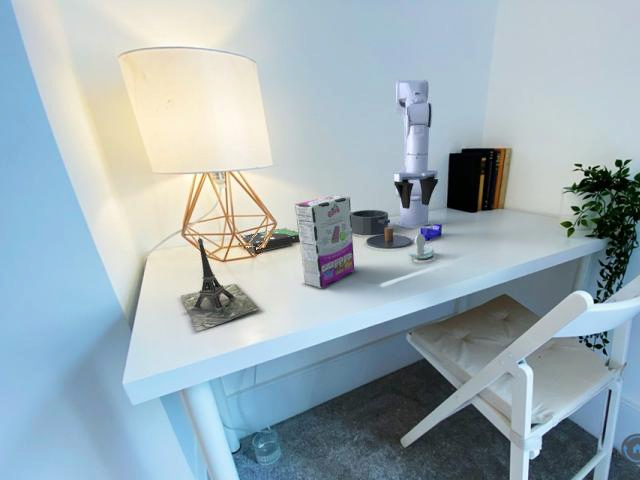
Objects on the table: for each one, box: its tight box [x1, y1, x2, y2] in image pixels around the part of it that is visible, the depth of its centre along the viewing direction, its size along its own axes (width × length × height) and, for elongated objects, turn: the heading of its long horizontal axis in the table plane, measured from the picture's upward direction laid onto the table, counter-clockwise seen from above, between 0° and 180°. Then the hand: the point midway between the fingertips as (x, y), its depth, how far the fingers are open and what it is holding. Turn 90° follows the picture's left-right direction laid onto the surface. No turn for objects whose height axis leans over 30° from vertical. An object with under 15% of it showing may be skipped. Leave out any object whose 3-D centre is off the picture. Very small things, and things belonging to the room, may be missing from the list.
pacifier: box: [406, 233, 438, 264], centre depth 81 cm, size 7×6×6 cm
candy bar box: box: [294, 195, 355, 289], centre depth 69 cm, size 11×5×16 cm, turn 148°
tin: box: [351, 209, 391, 236], centre depth 106 cm, size 12×17×6 cm
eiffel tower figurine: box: [180, 232, 260, 332], centre depth 58 cm, size 15×10×13 cm
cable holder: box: [420, 222, 443, 242], centre depth 99 cm, size 8×4×4 cm, turn 139°
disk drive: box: [237, 227, 300, 253], centre depth 95 cm, size 10×3×15 cm
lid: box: [365, 226, 413, 250], centre depth 94 cm, size 13×13×5 cm
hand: (415, 206), depth 95 cm, fingers open, 7 cm apart
